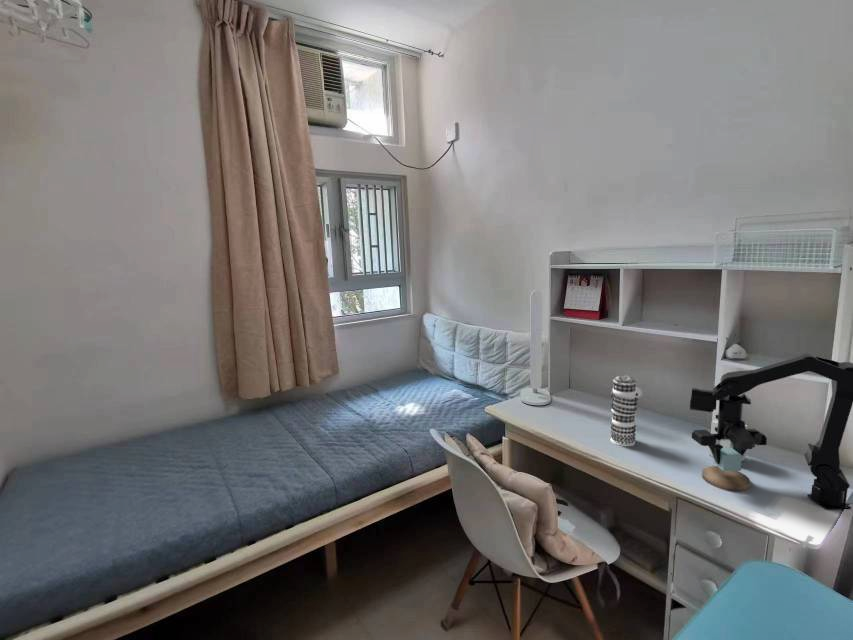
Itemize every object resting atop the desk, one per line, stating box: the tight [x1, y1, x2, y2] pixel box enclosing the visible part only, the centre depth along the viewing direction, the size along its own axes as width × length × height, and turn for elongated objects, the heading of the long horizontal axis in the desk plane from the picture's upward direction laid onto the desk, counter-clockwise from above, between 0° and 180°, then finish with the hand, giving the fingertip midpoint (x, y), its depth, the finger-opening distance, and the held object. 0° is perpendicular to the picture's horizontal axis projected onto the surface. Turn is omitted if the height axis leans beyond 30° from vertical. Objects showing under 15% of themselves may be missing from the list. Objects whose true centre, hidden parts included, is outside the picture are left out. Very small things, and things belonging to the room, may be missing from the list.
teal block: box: [712, 448, 742, 472], centre depth 129 cm, size 5×5×5 cm
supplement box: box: [709, 419, 749, 462], centre depth 142 cm, size 7×7×13 cm
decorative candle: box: [610, 375, 639, 447], centre depth 157 cm, size 9×9×25 cm
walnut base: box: [701, 465, 751, 492], centre depth 130 cm, size 12×12×2 cm
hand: (726, 463), depth 129 cm, fingers closed on teal block, 5 cm apart
